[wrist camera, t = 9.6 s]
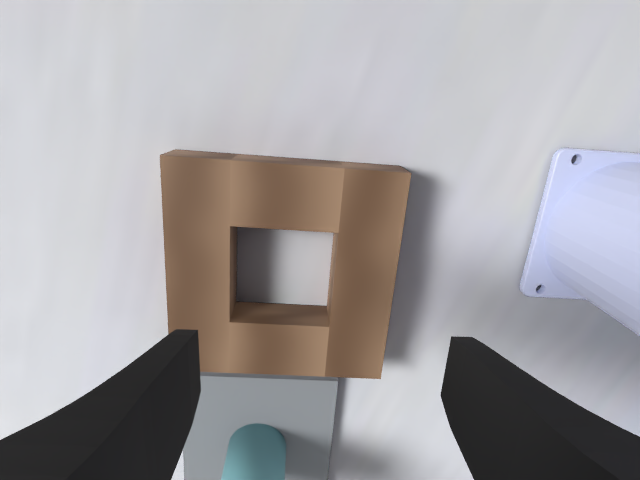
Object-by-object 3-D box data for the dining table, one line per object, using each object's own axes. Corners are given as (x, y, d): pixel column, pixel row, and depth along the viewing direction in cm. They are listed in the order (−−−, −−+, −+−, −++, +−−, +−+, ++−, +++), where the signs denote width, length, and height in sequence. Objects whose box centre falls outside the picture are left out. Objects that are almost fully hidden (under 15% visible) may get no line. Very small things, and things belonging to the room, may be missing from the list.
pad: (337, 374, 24) (338, 381, 23) (324, 499, 27) (324, 507, 27) (183, 368, 23) (180, 375, 23) (187, 496, 27) (185, 505, 26)
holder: (400, 165, 20) (411, 173, 18) (373, 354, 24) (380, 378, 22) (175, 149, 19) (160, 155, 17) (182, 346, 23) (170, 370, 21)
